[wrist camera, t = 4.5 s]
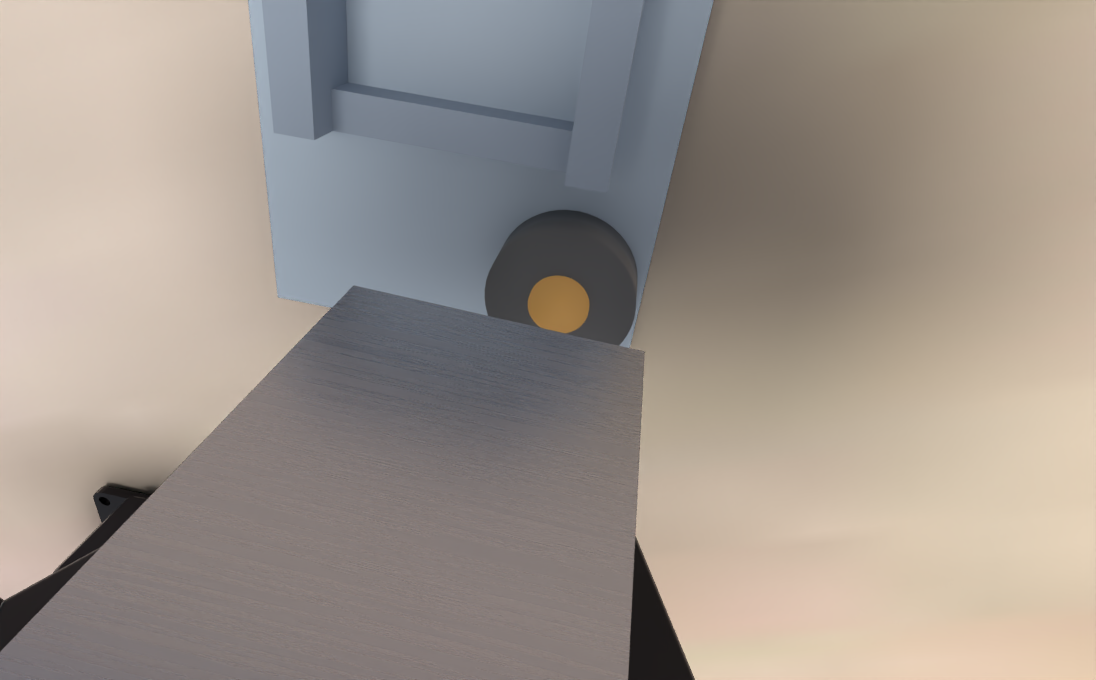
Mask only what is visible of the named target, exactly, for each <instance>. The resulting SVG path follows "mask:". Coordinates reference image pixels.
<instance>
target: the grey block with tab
mask: <svg viewBox="0 0 1096 680" xmlns="http://www.w3.org/2000/svg"><path fill="white" fill-rule="evenodd" d="M643 371H644V351H640V350H636V349H631V348H627V347H622V346H618V345H614V344H609V343H605V342H601V341H596V340H592V339H587V338H583V337H579V336H574V335H570V334H565V333H561V332H557V331H552V330H548V329H544V328H539V327H535V326H530V325H526V324H522V323H517V322H513V321H508V320H504V319H500V318H495V317H491V316H486V315H482V314H478V313H473V312H469V311H465V310H460V309H456V308H451V307H447V306H443V305H438V304H434V303H430V302H425V301H421V300H416V299H412V298H408V297H403V296H399V295H394V294H390V293H386V292H381V291H377V290H373V289H368V288H364V287H359V286H355V285H353V286H352V287H351V288H350V289H349V290H348V291H347V293H346V294H345V295H344V296H343V297H342V298H341V299H340V300H339V301H338V302H337V303H336V304H335V305H334V306H333V307H332V308H331V309H330V310H329V311H328V312H327V313H326V314H325V315H324V316H323V317H322V318H321V320H320V321H319V322H318V323H317V324H316V325H315V326H314V327H313V328H312V329H311V330H310V331H309V332H308V333H307V334H306V335H305V336H304V337H303V338H302V339H301V340H300V341H299V342H298V343H297V344H296V345H295V346H294V348H293V349H292V350H291V351H290V352H289V353H288V354H287V355H286V356H285V357H284V358H283V359H282V360H281V361H280V362H279V363H278V364H277V365H276V366H275V367H274V368H273V369H272V370H271V371H270V372H269V373H268V375H267V376H266V377H265V378H264V379H263V380H262V381H261V382H260V383H259V384H258V385H257V386H256V387H255V388H254V389H253V390H252V391H251V392H250V393H249V394H248V395H247V396H246V397H245V398H244V399H243V400H242V401H241V403H240V404H239V405H238V406H237V407H236V408H235V409H234V410H233V411H232V412H231V413H230V414H229V415H228V416H227V417H226V418H225V419H224V420H223V421H222V422H221V423H220V424H219V425H218V426H217V427H216V428H215V429H214V431H213V432H212V433H211V434H210V435H209V436H208V437H207V438H206V439H205V440H204V441H203V442H202V443H201V444H200V445H199V446H198V447H197V448H196V449H195V450H194V451H193V452H192V453H191V454H190V455H189V456H188V458H187V459H186V460H185V461H184V462H183V463H182V464H181V465H180V466H179V467H178V468H177V469H176V470H175V471H174V472H173V473H172V474H171V475H170V476H169V477H168V478H167V479H166V480H165V481H164V482H163V483H162V484H161V486H160V487H159V488H158V489H157V490H156V491H155V492H154V493H153V494H152V495H151V496H150V497H149V498H148V499H147V500H146V501H145V502H144V503H143V504H142V505H141V506H140V507H139V508H138V509H137V510H136V511H135V513H134V514H133V515H132V516H131V517H130V518H129V519H128V520H127V521H126V522H125V523H124V524H123V525H122V526H121V527H120V528H119V529H118V530H117V531H116V532H115V533H114V534H113V535H112V536H111V537H110V538H109V539H108V541H107V542H106V543H105V544H104V545H103V546H102V547H101V548H100V549H99V550H98V551H97V552H96V553H95V554H94V555H93V556H92V557H91V558H90V559H89V560H88V561H87V562H86V563H85V564H84V565H83V566H82V567H81V569H80V570H79V571H78V572H77V573H76V574H75V575H74V576H73V577H72V578H71V579H70V580H69V581H68V582H67V583H66V584H65V585H64V586H63V587H62V588H61V589H60V590H59V591H58V592H57V593H56V594H55V596H54V597H53V598H52V599H51V600H50V601H49V602H48V603H47V604H46V605H45V606H44V607H43V608H42V609H41V610H40V611H39V612H38V613H37V614H36V615H35V616H34V617H33V618H32V619H31V620H30V621H29V622H28V624H27V625H26V626H25V627H24V628H23V629H22V630H21V631H20V632H19V633H18V634H17V635H16V636H15V637H14V638H13V639H12V640H11V641H10V642H9V643H8V644H7V645H6V646H5V647H4V648H3V649H2V651H1V652H0V680H628V670H629V650H630V630H631V611H632V591H633V571H634V551H635V531H636V511H637V491H638V471H639V451H640V431H641V411H642V391H643Z"/></svg>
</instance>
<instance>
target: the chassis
mask: <svg viewBox="0 0 1096 680" xmlns="http://www.w3.org/2000/svg"><path fill="white" fill-rule="evenodd" d="M713 1H714V0H248V4H249V14H250V24H251V34H252V44H253V54H254V64H255V74H256V84H257V94H258V104H259V114H260V124H261V134H262V144H263V154H264V164H265V174H266V184H267V194H268V204H269V214H270V223H271V233H272V243H273V253H274V263H275V273H276V283H277V293H278V297H279V298H284V299H289V300H294V301H299V302H304V303H310V304H315V305H320V306H325V307H330V308H332V307H333V306H334V305H335V304H336V303H337V302H338V301H339V300H340V299H341V298H342V297H343V296H344V295H345V294H346V293H347V291H348V290H349V289H350V288H351V287H352V286H353V285H355V286H359V287H364V288H368V289H373V290H377V291H381V292H386V293H390V294H394V295H399V296H403V297H408V298H412V299H416V300H421V301H425V302H430V303H434V304H438V305H443V306H447V307H451V308H456V309H460V310H465V311H469V312H473V313H478V314H482V315H486V316H491V317H495V318H500V319H504V320H508V321H513V322H517V323H522V324H526V325H530V326H535V327H539V328H544V329H548V330H552V331H557V332H561V333H565V334H570V335H574V336H579V337H583V338H587V339H592V340H596V341H601V342H605V343H609V344H614V345H618V346H622V347H627V348H630V345H631V340H632V336H633V332H634V328H635V324H636V320H637V316H638V311H639V307H640V303H641V299H642V295H643V291H644V287H645V282H646V278H647V274H648V270H649V266H650V262H651V258H652V253H653V249H654V245H655V241H656V237H657V233H658V229H659V224H660V220H661V216H662V212H663V208H664V204H665V200H666V195H667V191H668V187H669V183H670V179H671V175H672V171H673V166H674V162H675V158H676V154H677V150H678V146H679V142H680V137H681V133H682V129H683V125H684V121H685V117H686V113H687V109H688V104H689V100H690V96H691V92H692V88H693V84H694V80H695V75H696V71H697V67H698V63H699V59H700V55H701V51H702V46H703V42H704V38H705V34H706V30H707V26H708V22H709V17H710V13H711V9H712V5H713Z"/></svg>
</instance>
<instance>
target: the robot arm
mask: <svg viewBox="0 0 1096 680" xmlns="http://www.w3.org/2000/svg"><path fill="white" fill-rule="evenodd" d="M150 496H151V495H147V494H142V493H137V492H133V491H128V490H123V489H119V488H114V487H110V486H104V487H101V488H100V489H99V490H98V491H97V492H96V493H95V494H94V496H93V497H94V501H95V504H96V507H97V510H98V513H99V516H100V519H101V522H102V524H101V525H100V526H99V527H98V528H97V529H96V530H95V531H94V532H93V533H92V534H91V535H90V536H89V537H88V538H87V539H86V540H85V541H84V542H83V543H82V544H81V545H80V546H79V547H78V548H77V549H76V550H75V551H74V552H73V553H72V554H71V555H70V556H69V557H68V558H67V559H66V560H65V561H64V562H63V563H62V564H61V565H60V566H59V567H58V568H57V569H56V570H55V571H54V572H53V574H51V575H49V576H47V577H46V578H44V579H42V580H40V581H38V582H37V583H35V584H33V585H31V586H29V587H28V588H26V589H24V590H22V591H20V592H18V593H17V594H15V595H13V596H11V597H9V598H8V599H6V600H3V599H2V598H0V652H1V651H2V649H3V648H4V647H5V646H6V645H7V644H8V643H9V642H10V641H11V640H12V639H13V638H14V637H15V636H16V635H17V634H18V633H19V632H20V631H21V630H22V629H23V628H24V627H25V626H26V625H27V624H28V622H29V621H30V620H31V619H32V618H33V617H34V616H35V615H36V614H37V613H38V612H39V611H40V610H41V609H42V608H43V607H44V606H45V605H46V604H47V603H48V602H49V601H50V600H51V599H52V598H53V597H54V596H55V594H56V593H57V592H58V591H59V590H60V589H61V588H62V587H63V586H64V585H65V584H66V583H67V582H68V581H69V580H70V579H71V578H72V577H73V576H74V575H75V574H76V573H77V572H78V571H79V570H80V569H81V567H82V566H83V565H84V564H85V563H86V562H87V561H88V560H89V559H90V558H91V557H92V556H93V555H94V554H95V553H96V552H97V551H98V550H99V549H100V548H101V547H102V546H103V545H104V544H105V543H106V542H107V541H108V539H109V538H110V537H111V536H112V535H113V534H114V533H115V532H116V531H117V530H118V529H119V528H120V527H121V526H122V525H123V524H124V523H125V522H126V521H127V520H128V519H129V518H130V517H131V516H132V515H133V514H134V513H135V511H136V510H137V509H138V508H139V507H140V506H141V505H142V504H143V503H144V502H145V501H146V500H147V499H148V498H149V497H150ZM628 680H695V678H694V676H693V674H692V671H691V669H690V666H689V664H688V662H687V659H686V657H685V654H684V652H683V649H682V647H681V645H680V642H679V640H678V637H677V635H676V633H675V630H674V628H673V625H672V623H671V620H670V618H669V616H668V613H667V611H666V608H665V606H664V604H663V601H662V599H661V596H660V594H659V591H658V589H657V587H656V584H655V582H654V579H653V577H652V575H651V572H650V570H649V567H648V565H647V562H646V560H645V558H644V555H643V553H642V550H641V548H640V546H639V543H638V541H637V538H636V536H635V551H634V571H633V591H632V611H631V630H630V650H629V670H628Z"/></svg>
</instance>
